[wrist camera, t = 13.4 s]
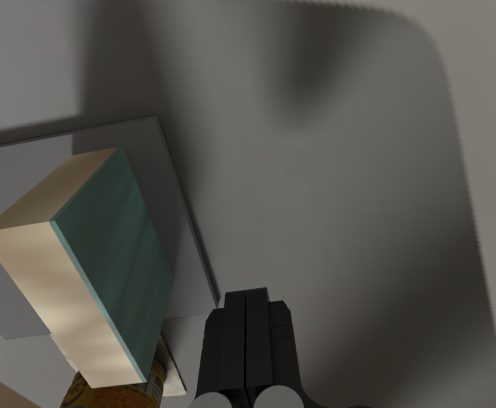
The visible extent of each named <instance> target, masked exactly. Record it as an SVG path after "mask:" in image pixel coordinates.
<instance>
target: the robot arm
mask: <svg viewBox="0 0 496 408" xmlns="http://www.w3.org/2000/svg"><path fill="white" fill-rule="evenodd" d="M202 347H203V349H202V354H201V361H200V369H199V376H198V384H197V391H196V396H195V399H194V401H193V402H192V403H191V404H190V405H189V407H188V408H326V407H323V406H320V405H318V404H316V403H315V402H314V401H312V400H311V399H310V398H309V397H308V396H307V395H306V393H305V392H304V390H303V388H302V385H301V379H300V372H299V365H298V358H297V351H296V345H295V338H294V331H293V325H292V319H291V312H290V310H289V309H288V307H287V306H286V304H285V303H284V301H283V300H282V301H274V302H270V301H269V296H268V291H267V287H264V288H256V289H249V290H247V292H246V290H242V291H234V292H226V294H225V303H224V308H218V309H213V310H212V312H211V313H210V315H209V317H208V319H207V320H206V324H205V331H204V339H203V346H202ZM349 408H370V407H367V406H360V405H357V406H352V407H349Z"/></svg>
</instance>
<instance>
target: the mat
mask: <svg viewBox="0 0 496 408" xmlns="http://www.w3.org/2000/svg"><path fill="white" fill-rule="evenodd" d="M121 146H123V149H124V151H125V154H126V156H127V159H128V161H129V164H130V166H131V169H132V171H133V174H134V176H135V179H136V182H137V184H138V187H139V189H140V192H141V194H142V197H143V199H144V202H145V204H146V207H147V209H148V212H149V215H150V217H151V220H152V222H153V225H154V227H155V230H156V232H157V235H158V237H159V240H160V242H161V245H162V248H163V250H164V253H165V255H166V258H167V260H168V263H169V265H170V268H171V270H172V273H173V275H174V278H175V280H174V284H173V287H172V291H171V295H170V299H169V302H168V306H167V310H166V313H165V317H164V319H169V318H177V317H184V316H192V315H200V314H207V313H211V312H212V310H213V309H218V302H217V299H216V296H215V293H214V290H213V287H212V284H211V281H210V278H209V274H208V271H207V268H206V265H205V262H204V259H203V256H202V253H201V250H200V247H199V243H198V240H197V237H196V234H195V231H194V228H193V225H192V222H191V219H190V216H189V212H188V209H187V206H186V203H185V200H184V197H183V194H182V191H181V188H180V185H179V181H178V178H177V175H176V172H175V169H174V166H173V163H172V160H171V157H170V154H169V150H168V147H167V144H166V141H165V138H164V135H163V132H162V129H161V126H160V123H159V119H158V116H157V115H154V116H148V117H143V118H138V119H132V120H127V121H122V122H117V123H111V124H106V125H101V126H95V127H90V128H85V129H79V130H74V131H69V132H63V133H58V134H53V135H47V136H42V137H37V138H31V139H26V140H21V141H15V142H10V143H5V144H0V215H1V214H2V213H3V212H4V211H6V210H7V209H8V208H9V207H10V206H12V205H13V204H14V203H15V202H16V201H18V200H19V199H20V198H21V197H23V196H24V195H25V194H26V193H27V192H29V191H30V190H31V189H32V188H33V187H35V186H36V185H37V184H38V183H39V182H41V181H42V180H43V179H44V178H45V177H47V176H48V175H49V174H50V173H51V172H53V171H54V170H55V169H56V168H57V167H59V166H60V165H61V164H62V163H63V162H65V161H66V160H67V159H68V158H69V157H71V156H72V155H77V154H82V153H88V152H93V151H99V150H105V149H110V148H116V147H121ZM0 334H1V335H2V337H3V338H4V339H5V340H8V339H15V338H23V337H31V336H38V335H46V334H52V333H51V332H50V330H49V329H48V328H47V326H46V325H45V323H44V322H43V321H42V319H41V318H40V317H39V315H38V314H37V312H36V311H35V310H34V308H33V307H32V306H31V304H30V303H29V301H28V300H27V299H26V297H25V296H24V295H23V293H22V292H21V290H20V289H19V288H18V286H17V285H16V284H15V282H14V281H13V279H12V278H11V277H10V275H9V274H8V273H7V271H6V270H5V268H4V267H3V266H2V264H1V263H0Z"/></svg>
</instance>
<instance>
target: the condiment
mask: <svg viewBox="0 0 496 408" xmlns="http://www.w3.org/2000/svg"><path fill="white" fill-rule="evenodd" d="M50 336H51V338H52V339H53V341H54V342H55V343H56V344H57V346H58V348H59V350H60V351H61V352H62V353H63V355H64V356H65V358H66V360H67V361H68V362H69V364H70V365H71V366H72V367H73V368H74V369H75V371H76V372H77V373H76V375H75V377H74V379H73V382H72V385H71V386H70V387H69V389H68V392H67V394H66V395H65V397H64V399H63V402H62V403H61V406H60V408H160V404H161V399H162V396H178V395H186V392H185V390H184V387H183V385H182V382H181V379H180V378H179V375H178V372H177V370H176V368H175V365H174V363H173V361H172V359H171V357H170V356H169V354H168V350H167V348H166V346H165V343H164V340H163V338H162V336H161V335H160V336H159V340H158V343H157V347H156V351H155V354H154V358H153V362H152V366H151V369H150V373H149V377H148V380H147V382H143V383H134V384H125V385H116V386H107V387H98V388H91V387H90V385H89V384H88V383H87V381H86V380H85V378H84V377H83V376H82V374H81V373H80V372H79V370H78V369H77V367H76V366H75V365H74V363H73V362H72V361H71V359H70V358H69V356H68V355H67V354H66V352H65V351H64V350H63V348H62V347H61V345H60V344H59V343H58V341H57V340H56V339H55V337H54V336H53V334H50Z"/></svg>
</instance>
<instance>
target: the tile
mask: <svg viewBox="0 0 496 408" xmlns="http://www.w3.org/2000/svg"><path fill="white" fill-rule="evenodd" d="M0 263H1V264H2V266H3V267H4V268H5V270H6V271H7V273H8V274H9V275H10V277H11V278H12V279H13V281H14V282H15V284H16V285H17V286H18V288H19V289H20V290H21V292H22V293H23V295H24V296H25V297H26V299H27V300H28V301H29V303H30V304H31V306H32V307H33V308H34V310H35V311H36V312H37V314H38V315H39V317H40V318H41V319H42V321H43V322H44V323H45V325H46V326H47V328H48V329H49V330H50V332H51V333H52V334H53V336H54V337H55V339H56V340H57V341H58V343H59V344H60V345H61V347H62V348H63V350H64V351H65V352H66V354H67V355H68V356H69V358H70V359H71V361H72V362H73V363H74V365H75V366H76V367H77V369H78V370H79V372H80V373H81V374H82V376H83V377H84V378H85V380H86V381H87V383H88V384H89V385H90V387H91V388H98V387H107V386H116V385H125V384H134V383H143V382H147V380H148V377H149V373H150V369H151V366H152V362H153V358H154V354H155V351H156V347H157V343H158V340H159V336H160V332H161V328H162V325H163V321H164V317H165V313H166V310H167V306H168V302H169V299H170V295H171V291H172V287H173V284H174V280H175V278H174V275H173V273H172V270H171V268H170V265H169V263H168V260H167V258H166V255H165V253H164V250H163V248H162V245H161V242H160V240H159V237H158V235H157V232H156V230H155V227H154V225H153V222H152V220H151V217H150V215H149V212H148V209H147V207H146V204H145V202H144V199H143V197H142V194H141V192H140V189H139V187H138V184H137V182H136V179H135V176H134V174H133V171H132V169H131V166H130V164H129V161H128V159H127V156H126V154H125V151H124V149H123V146H121V147H116V148H110V149H105V150H99V151H93V152H88V153H82V154H77V155H72V156H71V157H69V158H68V159H67V160H66V161H65V162H63V163H62V164H61V165H60V166H59V167H57V168H56V169H55V170H54V171H53V172H51V173H50V174H49V175H48V176H47V177H45V178H44V179H43V180H42V181H41V182H39V183H38V184H37V185H36V186H35V187H33V188H32V189H31V190H30V191H29V192H27V193H26V194H25V195H24V196H23V197H21V198H20V199H19V200H18V201H16V202H15V203H14V204H13V205H12V206H10V207H9V208H8V209H7V210H6V211H4V212H3V213H2V214H1V215H0Z"/></svg>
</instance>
